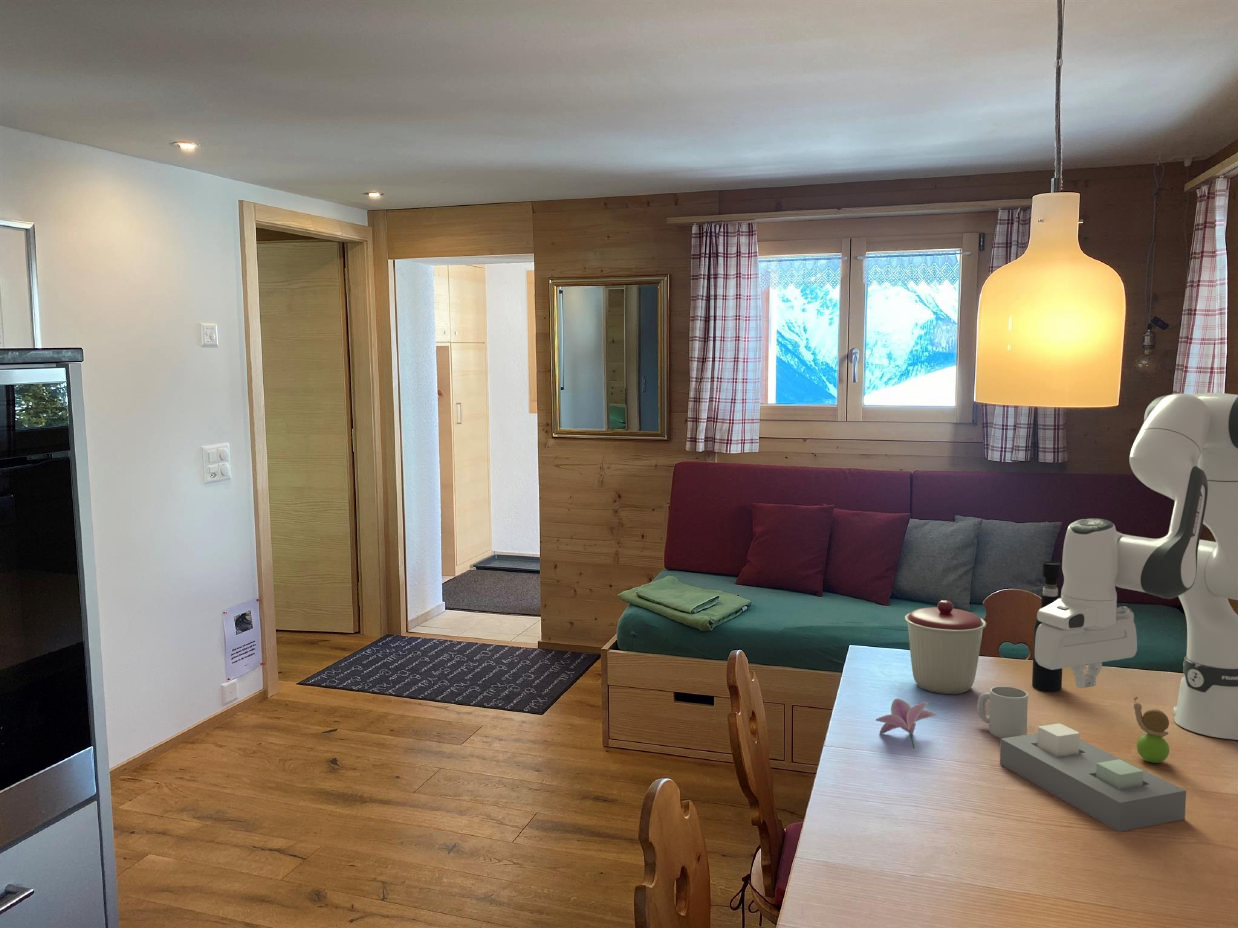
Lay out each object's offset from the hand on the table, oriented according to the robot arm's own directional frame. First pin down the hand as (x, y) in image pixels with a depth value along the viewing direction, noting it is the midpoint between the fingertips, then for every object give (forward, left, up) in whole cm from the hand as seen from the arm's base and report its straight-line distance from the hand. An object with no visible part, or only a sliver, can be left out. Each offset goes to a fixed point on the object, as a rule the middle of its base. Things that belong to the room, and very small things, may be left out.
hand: (1085, 686), depth 167 cm
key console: (0, +2, -19) cm, 19 cm away
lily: (+18, -28, -19) cm, 38 cm away
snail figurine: (-21, -4, -19) cm, 28 cm away
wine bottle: (-33, -44, -19) cm, 58 cm away
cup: (-4, -25, -19) cm, 32 cm away
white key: (0, -5, -15) cm, 16 cm away
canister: (-10, -52, -19) cm, 57 cm away
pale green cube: (0, +9, -16) cm, 18 cm away
